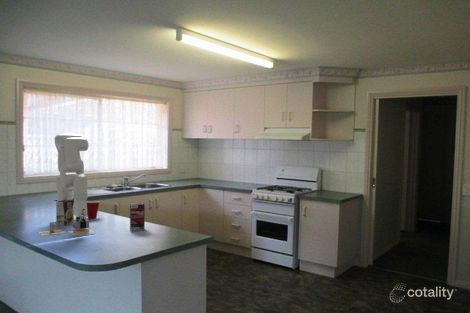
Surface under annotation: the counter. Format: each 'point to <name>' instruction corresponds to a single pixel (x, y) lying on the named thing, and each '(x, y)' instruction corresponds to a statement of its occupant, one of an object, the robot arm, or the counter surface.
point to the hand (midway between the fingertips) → (81, 226)
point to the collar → (77, 224)
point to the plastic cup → (92, 209)
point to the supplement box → (137, 216)
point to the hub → (81, 231)
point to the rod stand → (52, 230)
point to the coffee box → (64, 212)
